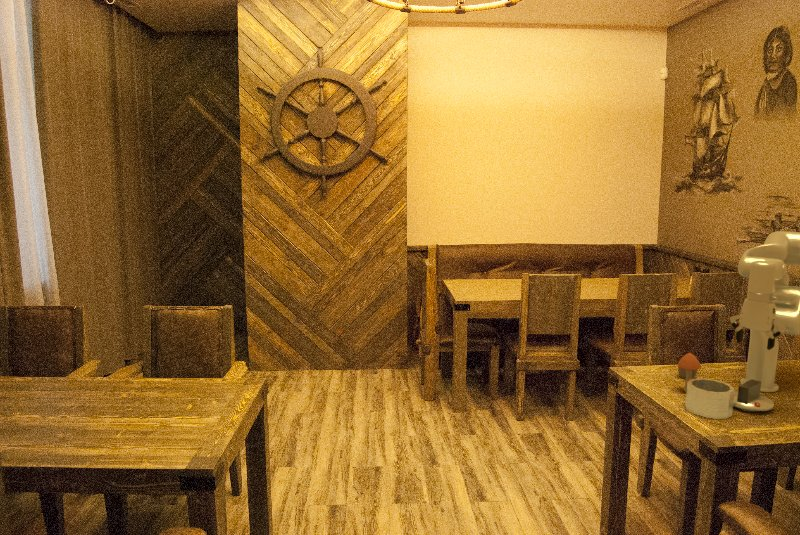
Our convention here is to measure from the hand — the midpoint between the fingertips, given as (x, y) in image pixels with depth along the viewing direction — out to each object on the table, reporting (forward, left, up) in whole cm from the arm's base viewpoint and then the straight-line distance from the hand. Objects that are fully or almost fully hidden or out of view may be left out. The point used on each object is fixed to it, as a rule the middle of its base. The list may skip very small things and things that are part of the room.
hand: (754, 345), depth 208 cm
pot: (+15, -7, -22) cm, 28 cm away
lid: (0, 0, -22) cm, 22 cm away
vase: (-12, -27, -22) cm, 37 cm away
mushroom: (+3, -20, -22) cm, 30 cm away
